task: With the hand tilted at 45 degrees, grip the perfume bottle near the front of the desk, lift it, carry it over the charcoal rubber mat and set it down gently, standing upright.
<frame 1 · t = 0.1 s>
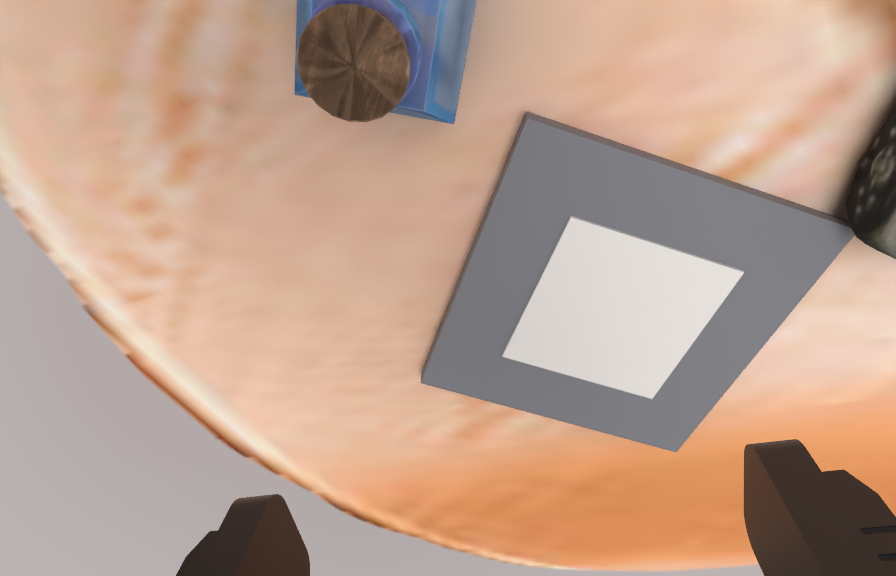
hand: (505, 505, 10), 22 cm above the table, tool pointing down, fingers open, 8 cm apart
mat: (612, 304, 35), on the table
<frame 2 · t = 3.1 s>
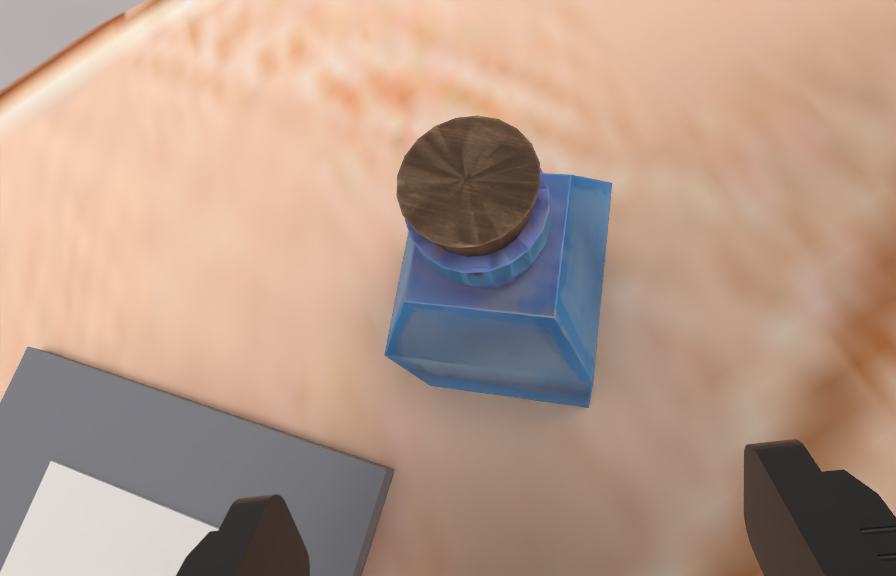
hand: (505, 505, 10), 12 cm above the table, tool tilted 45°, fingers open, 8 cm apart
perfume bottle: (517, 320, 24), on the table
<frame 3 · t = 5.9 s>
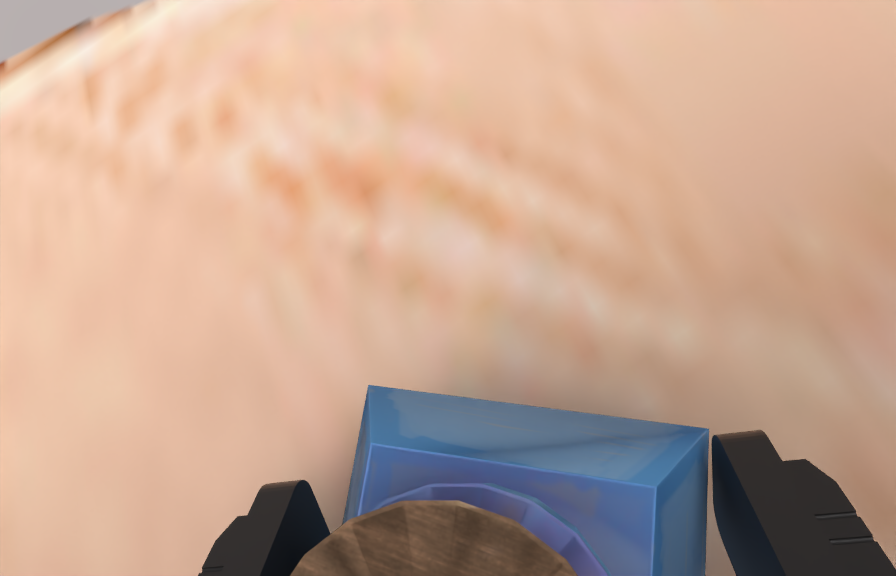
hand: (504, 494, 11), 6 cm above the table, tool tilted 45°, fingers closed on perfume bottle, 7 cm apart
perfume bottle: (531, 550, 16), on the table, touching gripper
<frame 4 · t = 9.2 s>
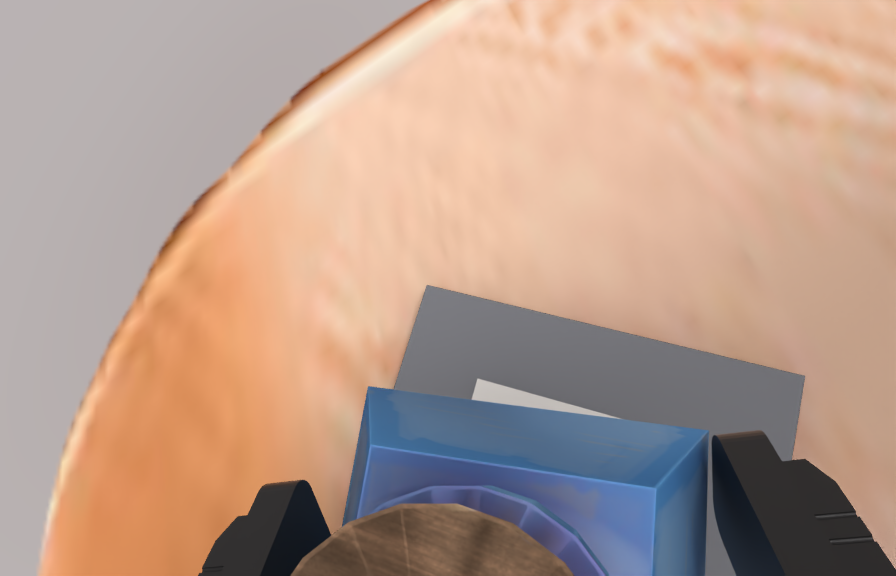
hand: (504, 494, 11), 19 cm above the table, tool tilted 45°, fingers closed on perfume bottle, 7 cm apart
perfume bottle: (532, 551, 16), point 12 cm above the table, touching gripper
mat: (554, 515, 28), on the table
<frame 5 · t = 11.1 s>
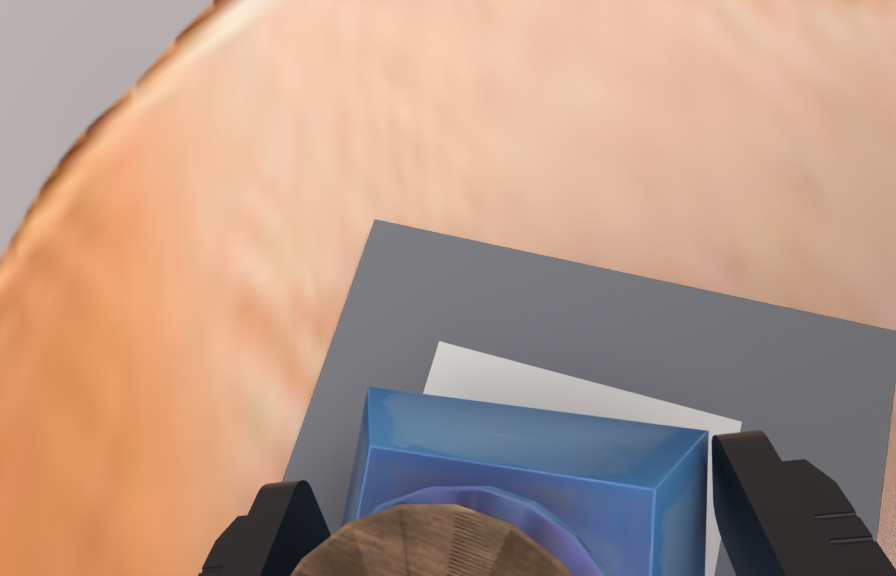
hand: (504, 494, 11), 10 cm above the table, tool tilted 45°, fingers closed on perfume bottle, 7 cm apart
perfume bottle: (531, 552, 16), point 4 cm above the table, touching gripper
mat: (543, 530, 20), on the table
when the fingers open (8 cm above the table, at t = 12.7 s): perfume bottle stays where it is, resting on mat.
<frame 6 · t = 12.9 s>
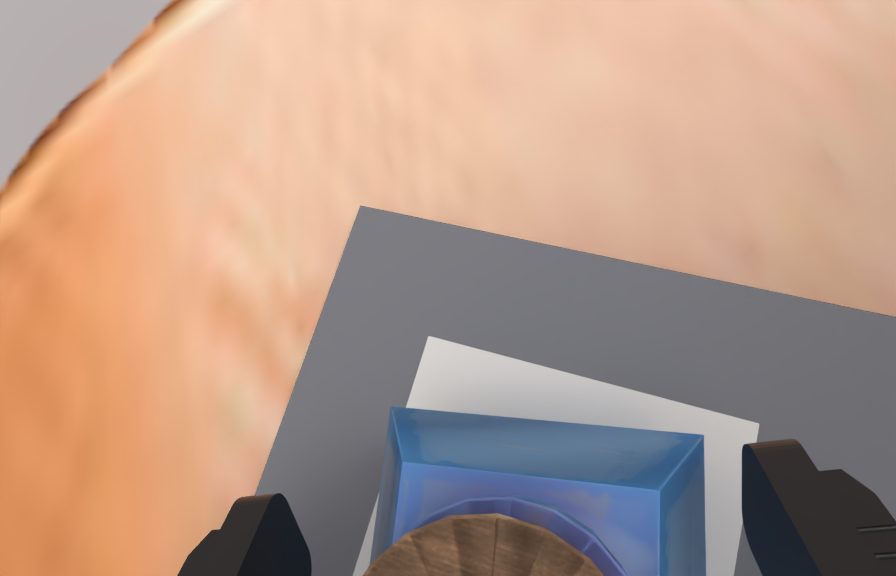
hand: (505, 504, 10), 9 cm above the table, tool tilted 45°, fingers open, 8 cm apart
perfume bottle: (543, 552, 17), point 1 cm above the table, touching mat
mat: (541, 542, 18), on the table
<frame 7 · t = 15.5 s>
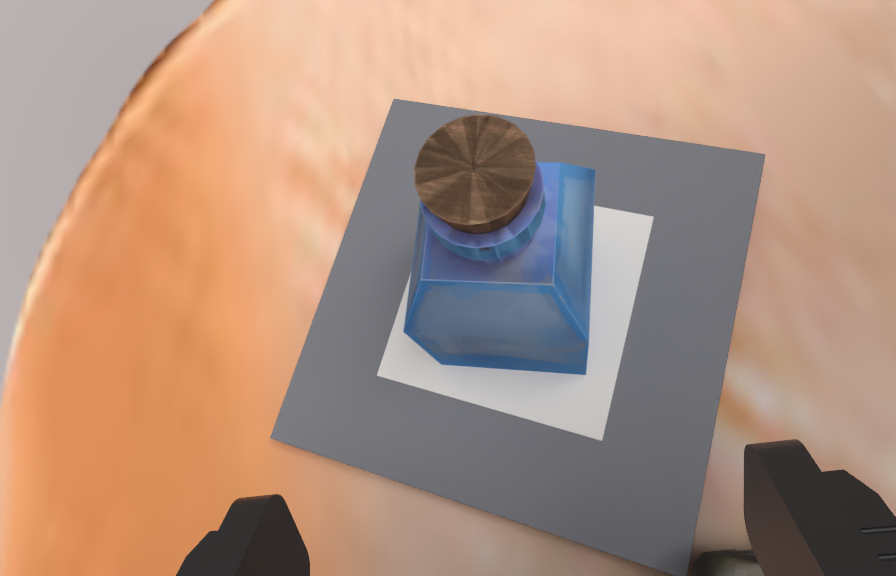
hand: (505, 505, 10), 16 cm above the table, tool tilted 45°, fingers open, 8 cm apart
perfume bottle: (517, 301, 27), point 1 cm above the table, touching mat
mat: (516, 304, 28), on the table
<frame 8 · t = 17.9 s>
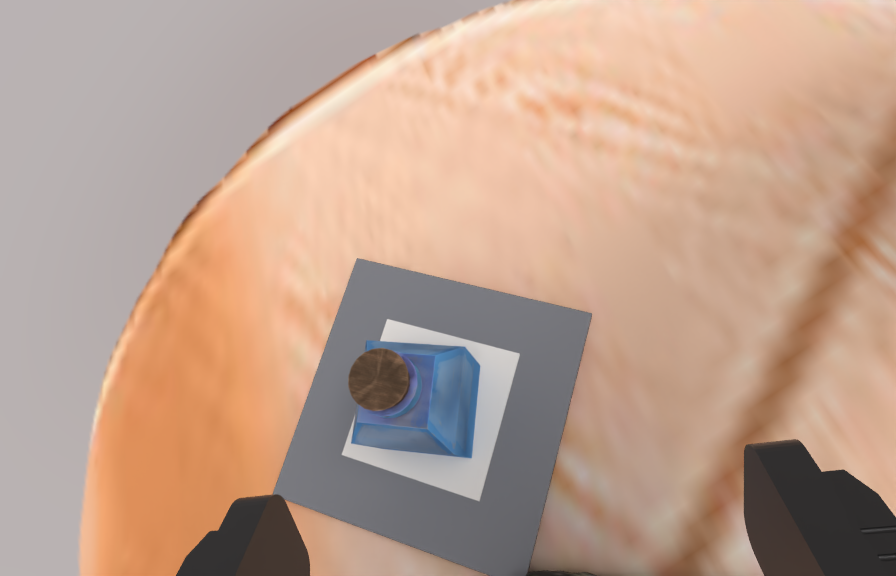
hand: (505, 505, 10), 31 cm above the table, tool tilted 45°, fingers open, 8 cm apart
perfume bottle: (432, 407, 41), point 1 cm above the table, touching mat
mat: (434, 406, 42), on the table
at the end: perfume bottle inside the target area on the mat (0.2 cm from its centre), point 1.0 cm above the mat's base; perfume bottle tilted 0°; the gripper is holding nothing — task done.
